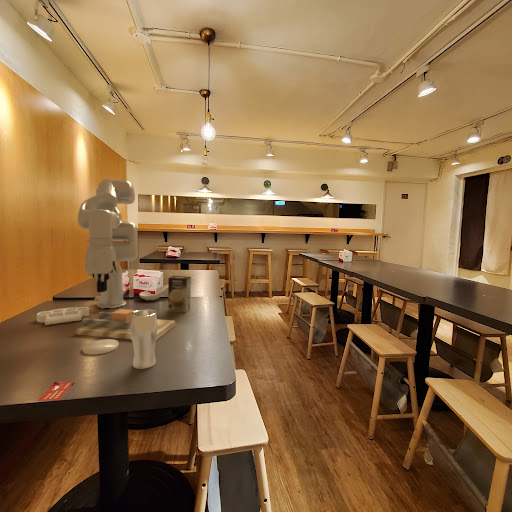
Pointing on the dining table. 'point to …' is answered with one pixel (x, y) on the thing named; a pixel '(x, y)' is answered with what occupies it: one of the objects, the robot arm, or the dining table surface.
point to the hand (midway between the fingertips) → (102, 291)
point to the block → (122, 315)
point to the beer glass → (143, 337)
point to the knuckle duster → (62, 315)
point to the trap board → (116, 327)
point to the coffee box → (179, 293)
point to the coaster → (100, 347)
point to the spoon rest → (149, 296)
